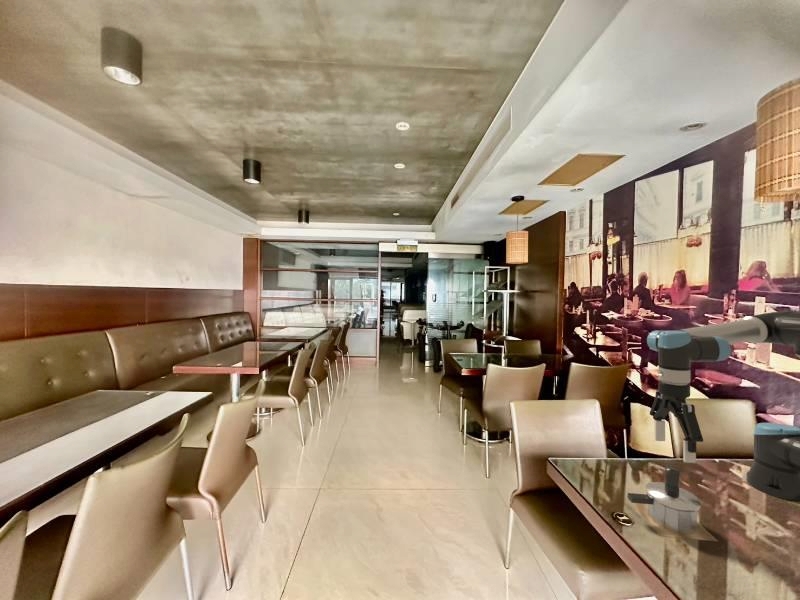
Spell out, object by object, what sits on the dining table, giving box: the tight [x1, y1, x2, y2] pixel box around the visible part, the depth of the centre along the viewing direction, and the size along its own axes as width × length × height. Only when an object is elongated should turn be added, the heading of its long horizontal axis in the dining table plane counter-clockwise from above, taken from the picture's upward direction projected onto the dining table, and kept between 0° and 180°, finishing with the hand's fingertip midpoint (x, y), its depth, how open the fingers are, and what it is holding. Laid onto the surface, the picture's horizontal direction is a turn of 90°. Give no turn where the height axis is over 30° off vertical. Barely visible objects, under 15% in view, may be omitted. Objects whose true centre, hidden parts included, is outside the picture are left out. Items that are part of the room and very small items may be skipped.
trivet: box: [631, 502, 718, 542], centre depth 102 cm, size 15×15×1 cm
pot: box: [627, 492, 698, 535], centre depth 102 cm, size 18×12×7 cm, turn 81°
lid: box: [645, 465, 701, 512], centre depth 101 cm, size 13×13×9 cm
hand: (673, 450), depth 101 cm, fingers open, 13 cm apart
